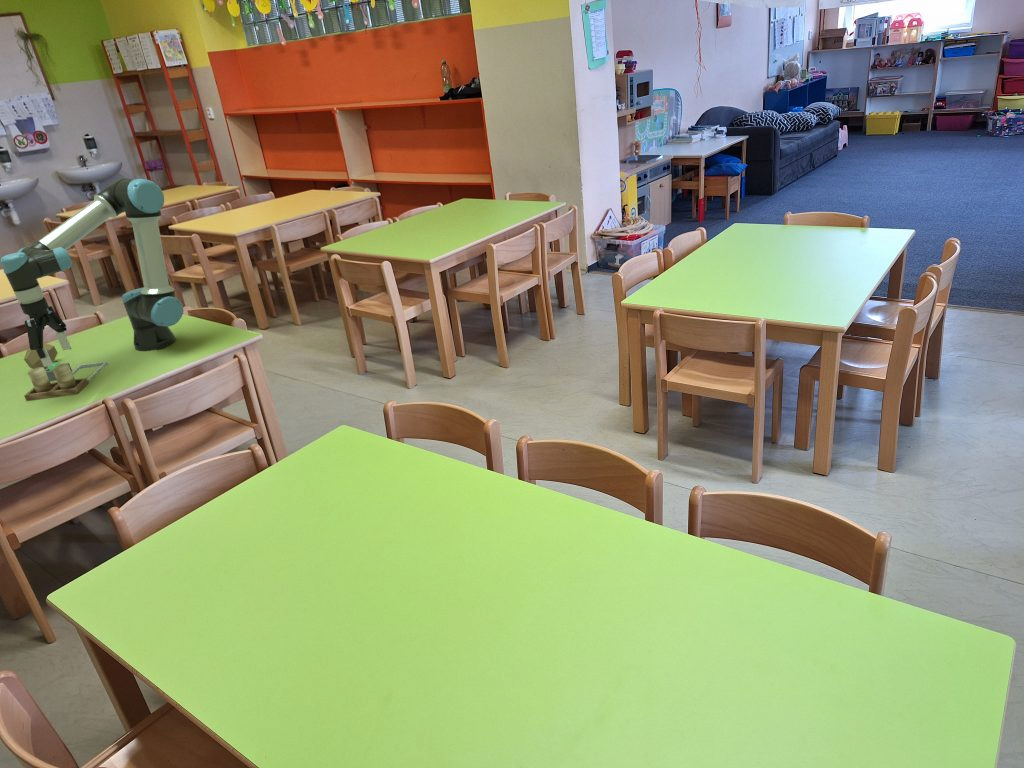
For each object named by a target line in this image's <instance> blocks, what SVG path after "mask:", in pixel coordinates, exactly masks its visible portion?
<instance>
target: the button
mask: <svg viewBox="0 0 1024 768" xmlns="http://www.w3.org/2000/svg"><path fill="white" fill-rule="evenodd" d="M60 364H61V363H60V362H58V361H54V363H53V365H52V366H48V368H49V371H51V370H53V368H54V367H56V366H58V365H60Z"/></svg>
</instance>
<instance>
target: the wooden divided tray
mask: <svg viewBox="0 0 1024 768" xmlns="http://www.w3.org/2000/svg"><path fill="white" fill-rule="evenodd" d="M74 379H75V378H74ZM75 382H76V384H77V385H76V386H75V387H74V388H70V389H63V390H61V388H60V386H59V383H58V381H51V382H50V383H51V385H52V389H51V390H50V391H48V392H40V393H37V392H36V390H35V388H34V387H32V388H31V389H30V390H29V391H28V392H27V393H26V394H24V395H23V397H24V399H25V400H26V401H25V402H29V401H37V400H45V399H52V398H59V397H65V396H66V397H67V396H74V395H79V394H80V392H82V390H83V389H85V387H87V386H88V385H89V384H90V381H89V382H88V378H87V377H84V378H76V379H75Z"/></svg>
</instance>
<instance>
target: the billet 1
mask: <svg viewBox="0 0 1024 768" xmlns="http://www.w3.org/2000/svg"><path fill="white" fill-rule="evenodd" d="M27 374H28V377H29V378H30V382H31V383H32V386H33V388H35V390H36V392H37V393H40V392H48V391H50V390H51V389H52V385H51V383H52V382H51V381H49V378H48V376H47V374H46V372H45V369H44V368H43V367H39V368H34V369H32V368H31V369H30V370H29V371H27Z"/></svg>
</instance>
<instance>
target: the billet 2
mask: <svg viewBox="0 0 1024 768" xmlns="http://www.w3.org/2000/svg"><path fill="white" fill-rule="evenodd" d="M61 364H62V365H58V366H56V367H54V368H53V372H54V374H55V376H56V379H57V380H56V382H58V383H59V386H60V388H61V390H63V389H70V388H74V387H75V386H76V385H77V384H76V382H75V377H74V375H73V374H72V372H71V369H72V368H71V369H70V367H71V366H70V367H69V365H68V364H63V363H61Z"/></svg>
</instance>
